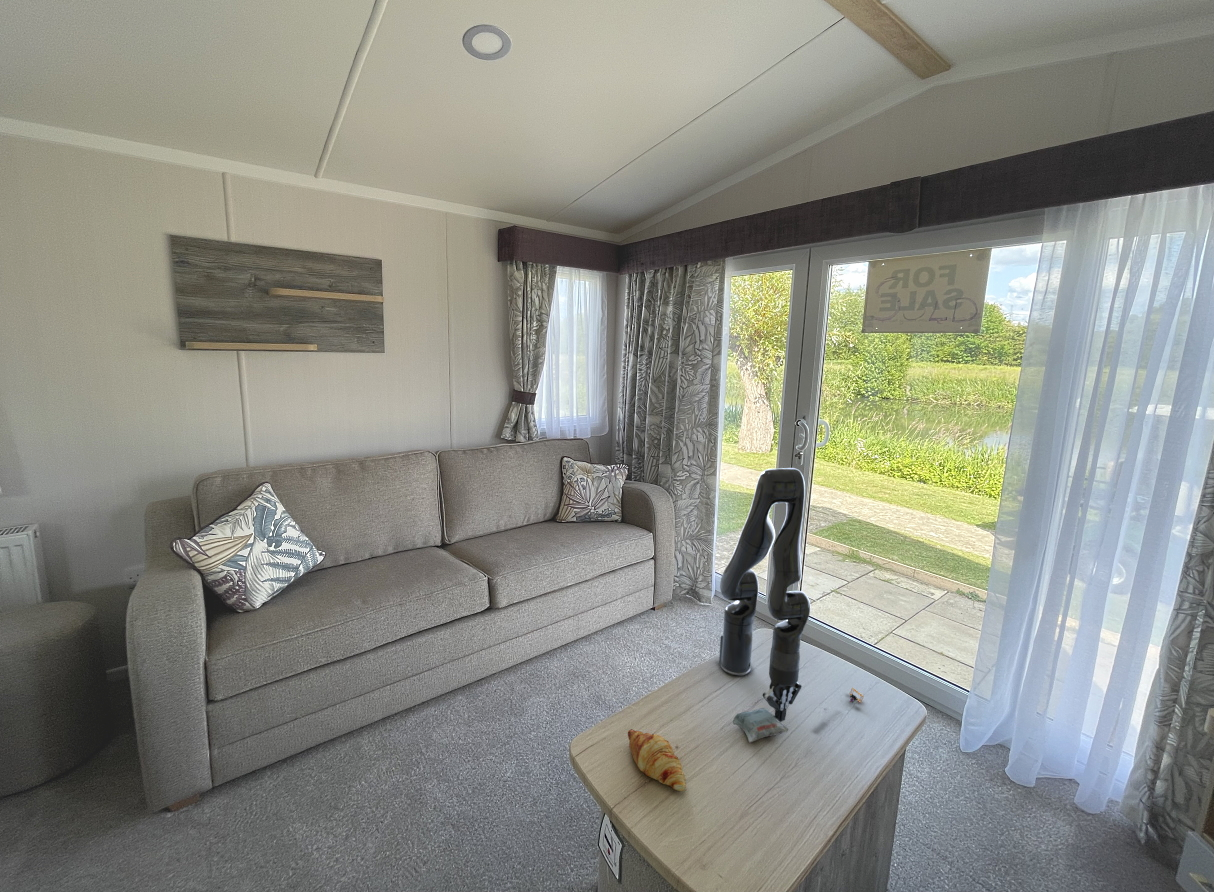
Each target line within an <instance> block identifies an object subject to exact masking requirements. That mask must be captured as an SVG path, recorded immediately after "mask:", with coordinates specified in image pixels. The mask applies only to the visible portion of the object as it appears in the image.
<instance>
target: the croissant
mask: <svg viewBox="0 0 1214 892" xmlns="http://www.w3.org/2000/svg"><path fill="white" fill-rule="evenodd" d="M627 738H628V740H629V742H628V743H629V745H628V747H629V750H630V752H631V755H632V759H633V761H634V763H635V764H636V766H637V768H638V769H639V770H640V772H642V773H643V774H644V775H646V776H647V777H649V778H650V779H654V780H656V781H658V782H659V783H661V784H663V785H667V786H670V787H671V788H672V789H673V790H675V791H678V792H684V791H685V790H686V788H687V787H686V785H687V784H686V777H685V773H684V772H683V765H682V763H681V760H680V759H679V757H678V756H676V755H675V753H674V749H673V747H672V746H671V744H670V742H669V740H667V739H666V738H665V737H663V736H662V735H660V734H658V733H655V734H654V733H652V734H651V733H650V732H645V733H643V731H640V730H634V729H633V728H630V729H629V730H628V731H627Z"/></svg>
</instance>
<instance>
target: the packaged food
mask: <svg viewBox="0 0 1214 892" xmlns="http://www.w3.org/2000/svg"><path fill="white" fill-rule="evenodd" d="M782 723H783V722H780V721H779V720H777V719H776V717H775V714H773V713H772V712H771V711H770V710H768V709H767V708H765V707H762V708H758V709H755V710H751V711H744V712H739V713H737V714H736V715H735V716H734V717H733V720H732V724H733V726H734V725H735V726H737V727H739V728H740V729H742V730H743V731H744V733H745V735H746V737H747V741H748V743H753V742H754V741H755V742H756V741H758V740H760V739H763V738H765V737H771V736H774V735H781V734H783V733H787V732H789V728H788V727H787V726H785V725H784V724H782Z"/></svg>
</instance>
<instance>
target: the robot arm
mask: <svg viewBox="0 0 1214 892" xmlns="http://www.w3.org/2000/svg"><path fill="white" fill-rule="evenodd" d="M804 478H805V477H804V476H803V473H802V472H801V470H799V469H797V468H795V467H784V468H783V467H780V468H768V469H764V470H763V471H762V472H761V473H760V475H759V477H758V478H757V479H758V480H757V482H756V485H755V486H756V487H755V490H754V494H753V497H752V501H751V505H750V509H749V512H748V515H747V517H746V520H745V523H744V525H743V527H742V530H741V532H740V535H739V537H738V540H737V544H736V546H735V549H734V551H733V554H732V556H731V558H730V560H729V562H728V563H727V565H726V567H725V569H724V570H723V572H722V575H721V577H720V582H719V583H720V584H719V585H720V586H719V589H720V594H721V595H722V597H723V598H724V599H725V600H726V601H732V603H729V604H727V605H726V607H725V608H724V609H723V610H724V611H723V628H722V635H721V636H720V641H719V657H718V658H719V659H718V660H719V661H718V663H719V664H720V668H721V669H722V670H723V671H724V672H725V673H727V674H729V675H731V676H736V677H737V676H738V677H742V676H746V675H748V674H749V673H750V672H751V669H752V650H753V636H754V621H755V616H756V614H757V607H758V606H757V605H758V598H759V592H760V591H759V589H760V588H759V584H760V583H759V578H758V576H757V574H756V572H755V571H754V570H752V569H753V568H754V567H756V566H757V565H758V564H760V563H761V562H762V561H763V560H764V559H765V558H766V557H767V556H768V555H769V553H770V551H771V549H772V573H773V575H772V580H771V585H770V590H769V593H768V598H767V608H768V611H769V614H770V615H771V617H772V618H773V619H775V620H776V621H780V622H777V623H776V624H775V625H774V626H773V630H772V642H771V649H770V655H769V666H768V668H769V669H768V670H769V671H768V676H769V679H770V684H769V686H768V688H769V689H768V691H767V692H763V693H762V694H761V696H762V697H763V699H764V700H765V702H766V703H767V704H768V705H769V706H770V707H771V708H773V709H774V716H775V717H776V719H777V721H778V722H780V723H783V722H784V721H785V720H786V717H787V709H788V708H789V705H790V706H791V705H793V703H794V702H795V700H796V699H797V696H798V694H799V693H800V691H801V689H802V687H803V686H802V684H800V683H799V682H798V681H799V675H800V664H801V653H800V651H801V650H800V649H801V639H802V635H803V632H804V631H805V627H806V625H807V623H808V620H809V618H810V615H811V608H812V607H811V601H810V599H809V597H808V595H807V594H806V593H805V592H804V591H801V590H791V591H788V589H789V587H790V586H792V585H795V584H798V583H799V582H801V580H802V558H801V557H802V556H801V537H802V536H801V535H802V528H803V519H804V508H805V498H806V484H805V483H806V482H805V479H804ZM775 504H786V512H785V513H786V515H785V519H784V521H783V524H782V526H781V529H780V530H779V533H778V534H777V537H776V531H775V527H774V525H773V522H772V520H771V519H770V515H769V514H770V511H771V509H772V507H773V506H774V505H775ZM772 547H773V548H772Z"/></svg>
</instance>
